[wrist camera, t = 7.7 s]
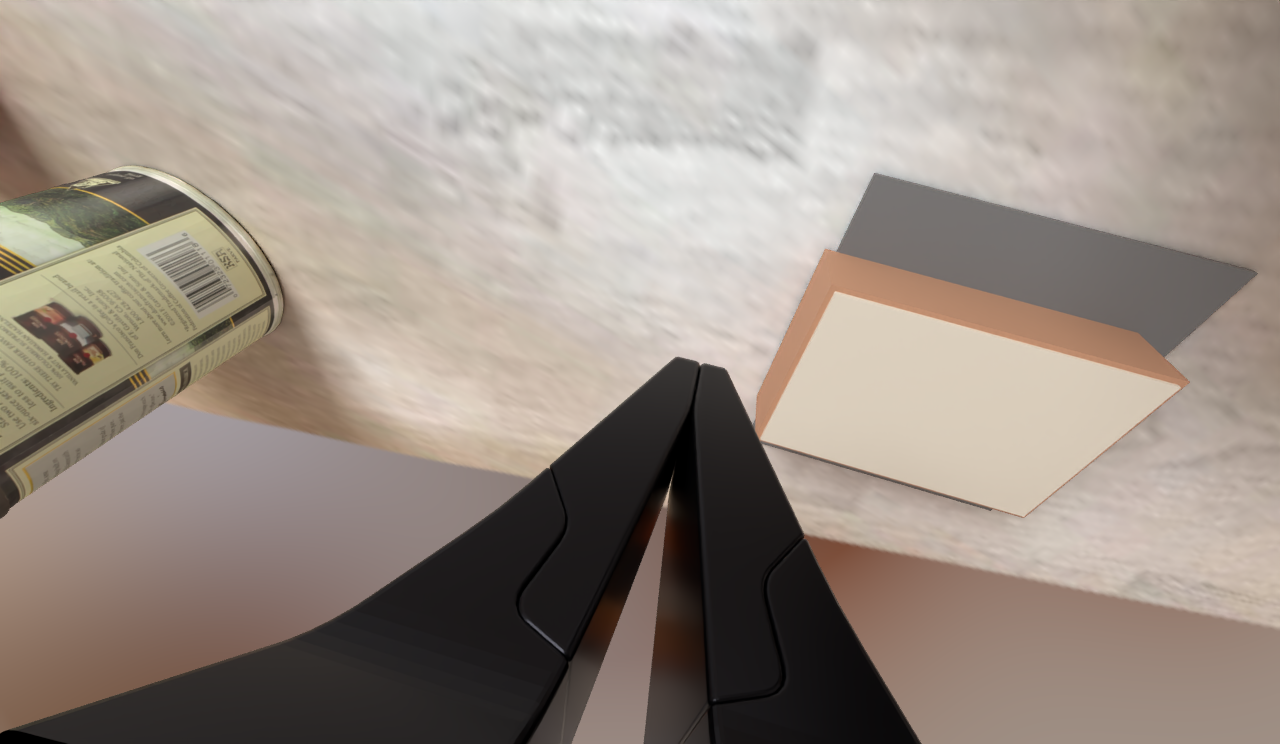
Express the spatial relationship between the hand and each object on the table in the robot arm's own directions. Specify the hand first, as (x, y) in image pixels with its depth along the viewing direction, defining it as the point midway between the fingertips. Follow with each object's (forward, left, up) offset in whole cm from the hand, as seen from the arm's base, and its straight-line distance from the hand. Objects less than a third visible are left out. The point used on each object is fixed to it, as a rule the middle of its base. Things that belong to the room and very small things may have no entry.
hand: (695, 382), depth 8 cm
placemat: (-11, +6, -13) cm, 18 cm away
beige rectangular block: (-4, +6, -11) cm, 13 cm away
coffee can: (+27, +12, -13) cm, 33 cm away
